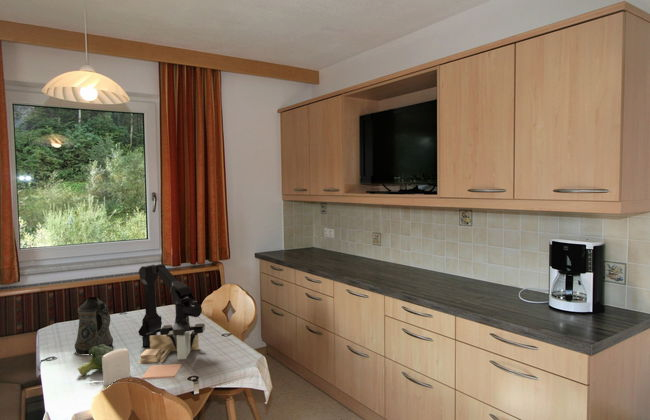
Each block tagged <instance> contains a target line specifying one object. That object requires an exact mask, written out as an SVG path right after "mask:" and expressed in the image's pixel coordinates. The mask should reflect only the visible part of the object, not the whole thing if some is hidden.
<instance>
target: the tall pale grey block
mask: <svg viewBox="0 0 650 420" xmlns="http://www.w3.org/2000/svg"><path fill="white" fill-rule="evenodd" d="M190 334H191V331H186V332H185V334H184V335H177V351H176V353H177V354H176V355H177V360H186V359H187V358H188V357H189V355H190V353H191V350H190Z"/></svg>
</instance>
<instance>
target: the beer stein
mask: <svg viewBox="0 0 650 420" xmlns="http://www.w3.org/2000/svg"><path fill="white" fill-rule="evenodd" d="M77 313H78V314H79V319H78V328H77V336H76V341H75V343H74V347H73V348H75V352H77V353H79V354H89V350H90V349H91V348H92V347H94V346H99V345H101V344H104V345H106V346H109V347H111V348H113V343H114V339H113V337H112V333H111V330H110V328H109V327H110V324H111V315H110V312H109V310H107V304H106V303H105V302H103V301H102V300H100V299H99V298H98V296H92V297H88V298H87V299H85V301H84V303H82V304H81V305H80V306H79V307H78V308H77ZM77 353H76V354H77ZM79 354H78V355H79Z"/></svg>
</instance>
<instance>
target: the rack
mask: <svg viewBox="0 0 650 420" xmlns="http://www.w3.org/2000/svg"><path fill="white" fill-rule="evenodd" d="M176 336H177V335H176ZM190 343H191V335H190ZM199 344H200V343H199V333H198V334H197V335H196V336H195V339H194V342H193V345H192V348H191V346H190V351H194V350H195V351H196V350H199V349H200V345H199ZM149 349H160V350H161V351H162V352H164V353H162V354H163V355H162V357H161V358H160V359H159V361H160V363H163V362H164V361H165V360H166V359H167V357H168V355H170V353H171V352H177V348H175V346H174V344H173V342H172V340H171V338H170V337H167V336H166V335H160V334H157V335H152V336H150V347H149Z"/></svg>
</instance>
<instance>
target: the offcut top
mask: <svg viewBox="0 0 650 420" xmlns="http://www.w3.org/2000/svg"><path fill="white" fill-rule="evenodd" d="M160 352H161V350H160V349H150V348H147V349H146V348H145V350H143V352H142V353H141V354H140V358H141V359H147V358H156V357H157V356H158V354H159V353H160Z"/></svg>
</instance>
